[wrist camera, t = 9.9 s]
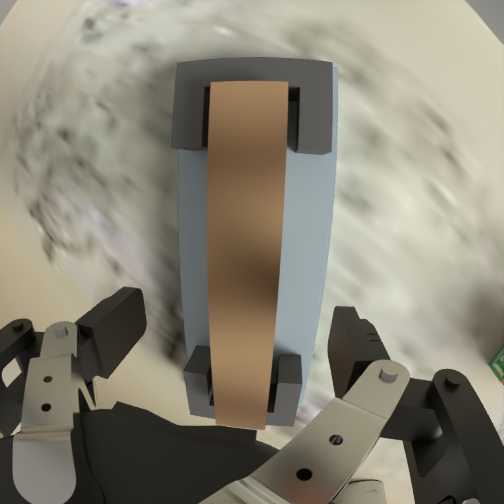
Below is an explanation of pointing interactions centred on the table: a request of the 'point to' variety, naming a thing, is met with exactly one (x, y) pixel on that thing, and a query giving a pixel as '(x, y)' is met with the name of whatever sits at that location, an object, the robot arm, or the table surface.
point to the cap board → (294, 219)
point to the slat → (244, 242)
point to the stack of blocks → (498, 365)
